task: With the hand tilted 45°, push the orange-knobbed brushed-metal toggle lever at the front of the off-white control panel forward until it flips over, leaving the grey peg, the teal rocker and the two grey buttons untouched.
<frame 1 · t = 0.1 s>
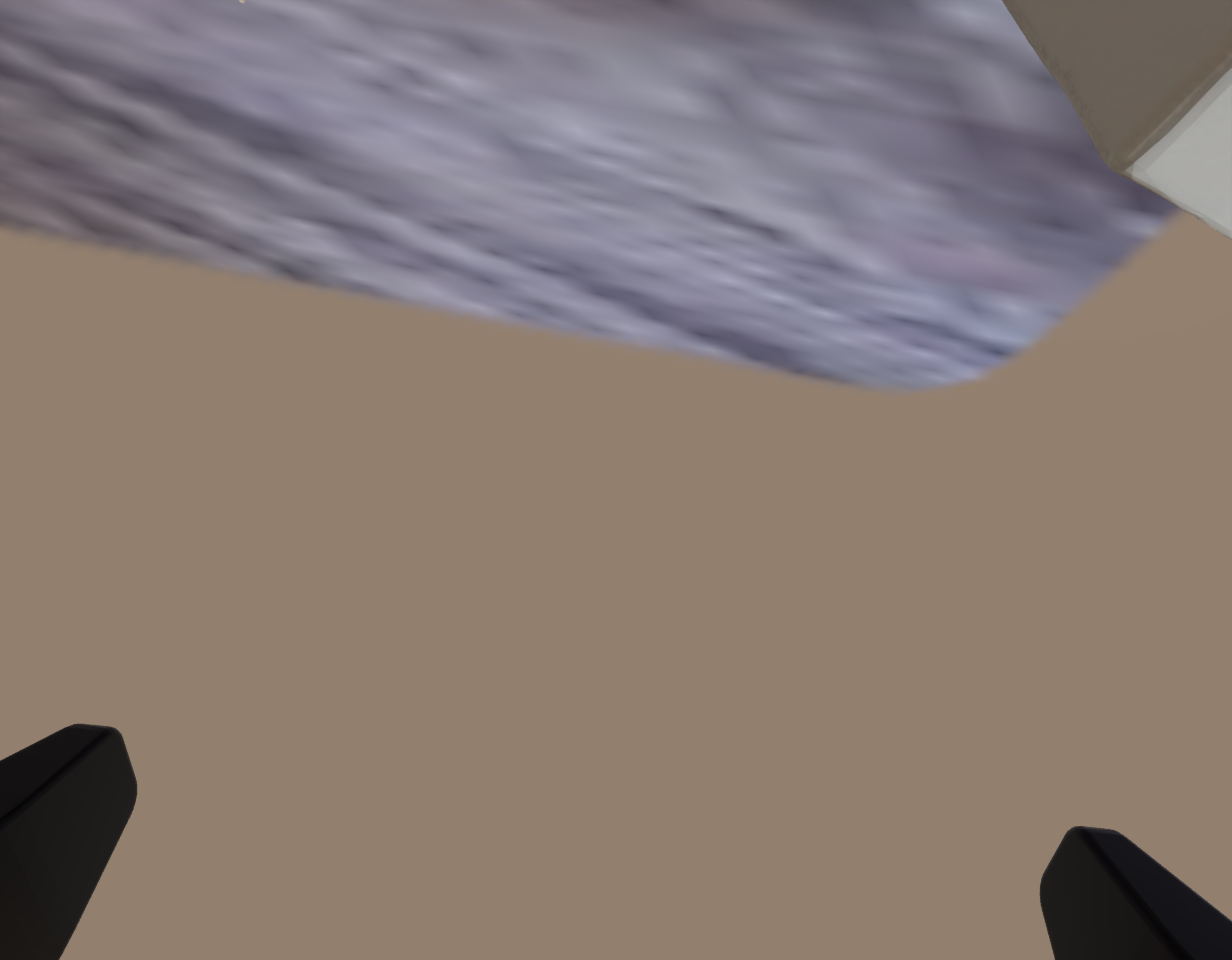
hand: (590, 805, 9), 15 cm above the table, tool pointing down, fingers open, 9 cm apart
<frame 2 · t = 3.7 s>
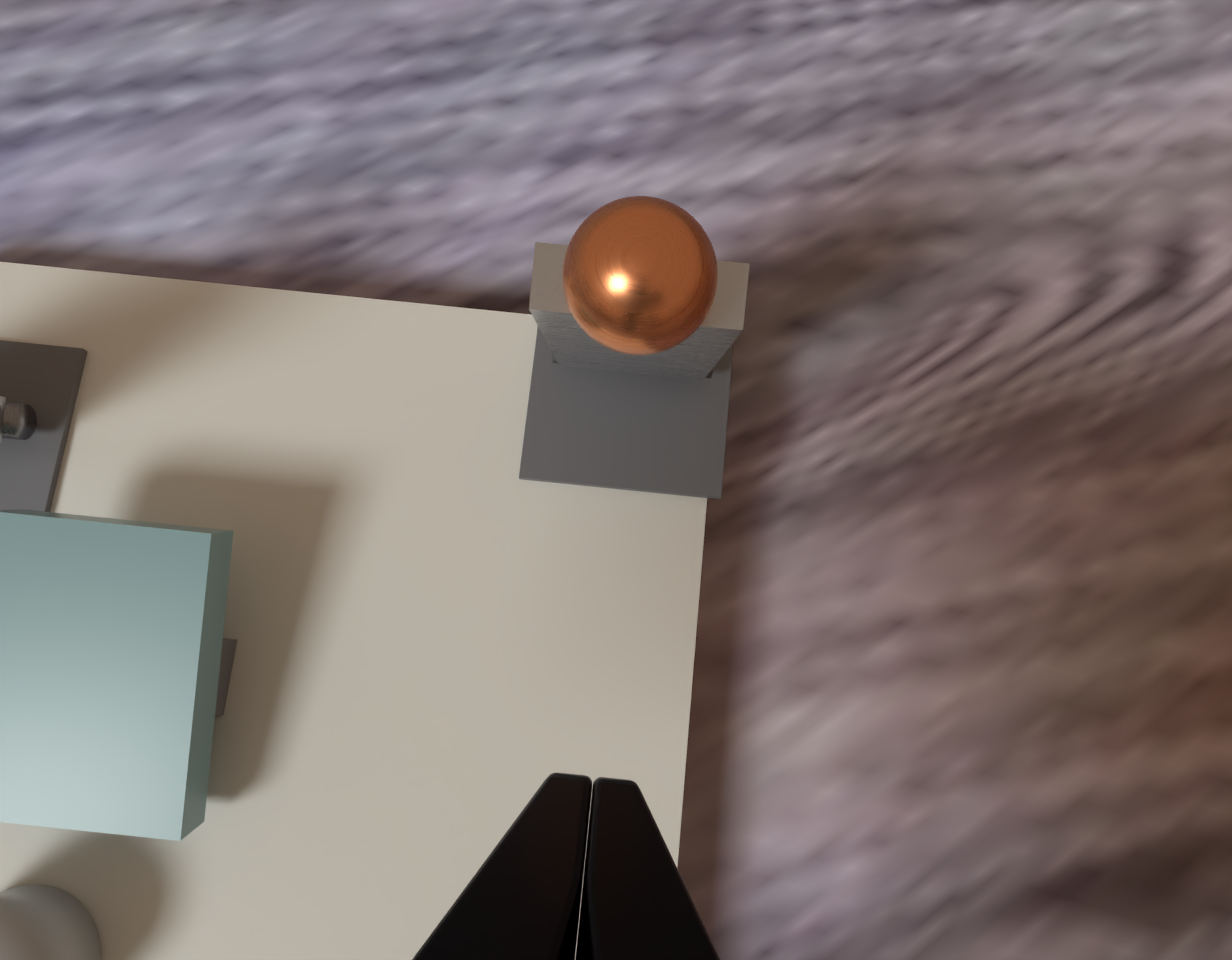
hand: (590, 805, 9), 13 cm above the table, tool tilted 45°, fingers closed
panel: (271, 634, 22), on the table
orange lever: (636, 320, 16), point 7 cm above the table, hinge at -12.0°
rocker: (98, 670, 18), point 4 cm above the table, hinge at -12.0°
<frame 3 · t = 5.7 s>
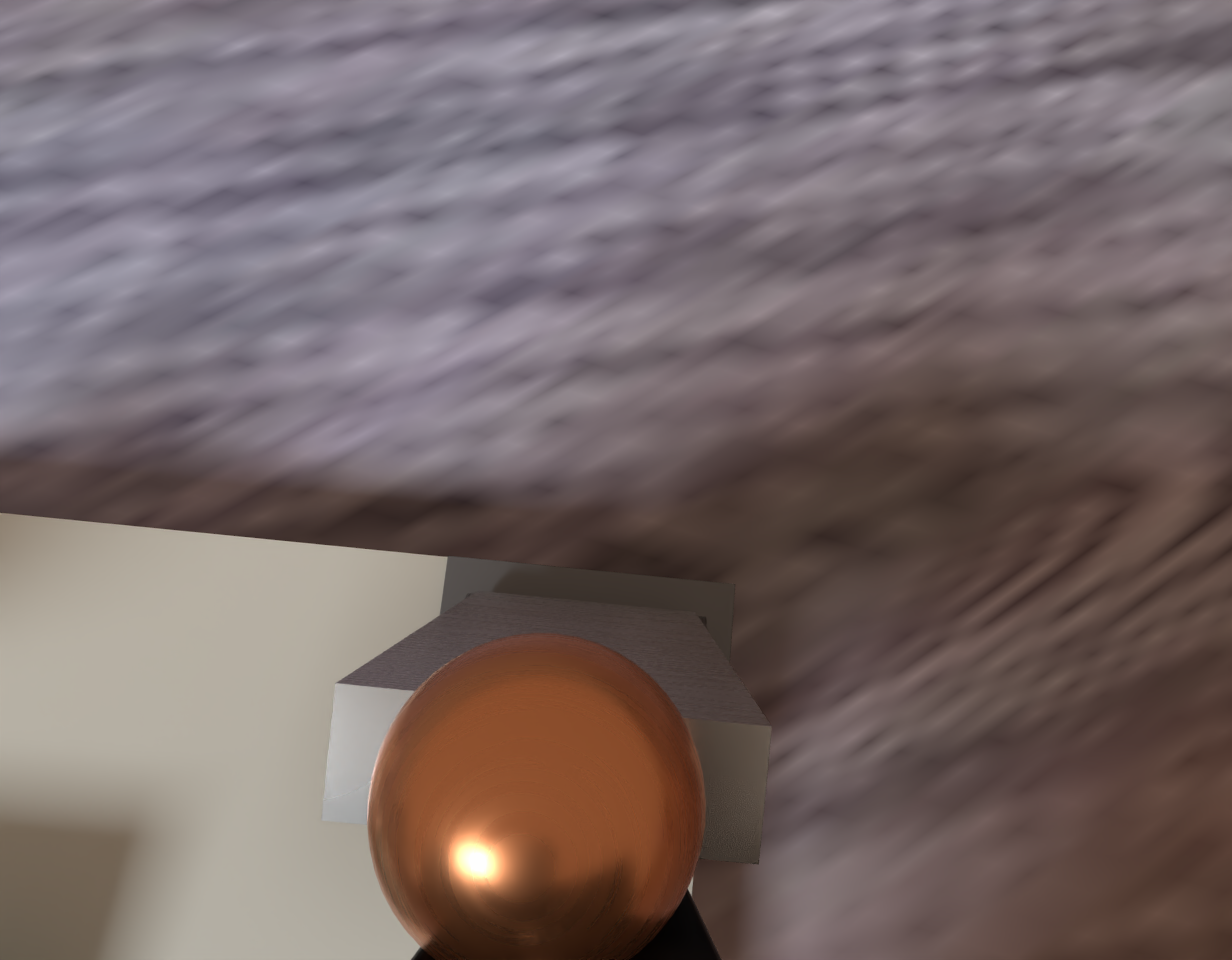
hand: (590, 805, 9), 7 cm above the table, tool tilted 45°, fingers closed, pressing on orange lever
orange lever: (568, 690, 9), point 7 cm above the table, hinge at -10.9°, touching gripper
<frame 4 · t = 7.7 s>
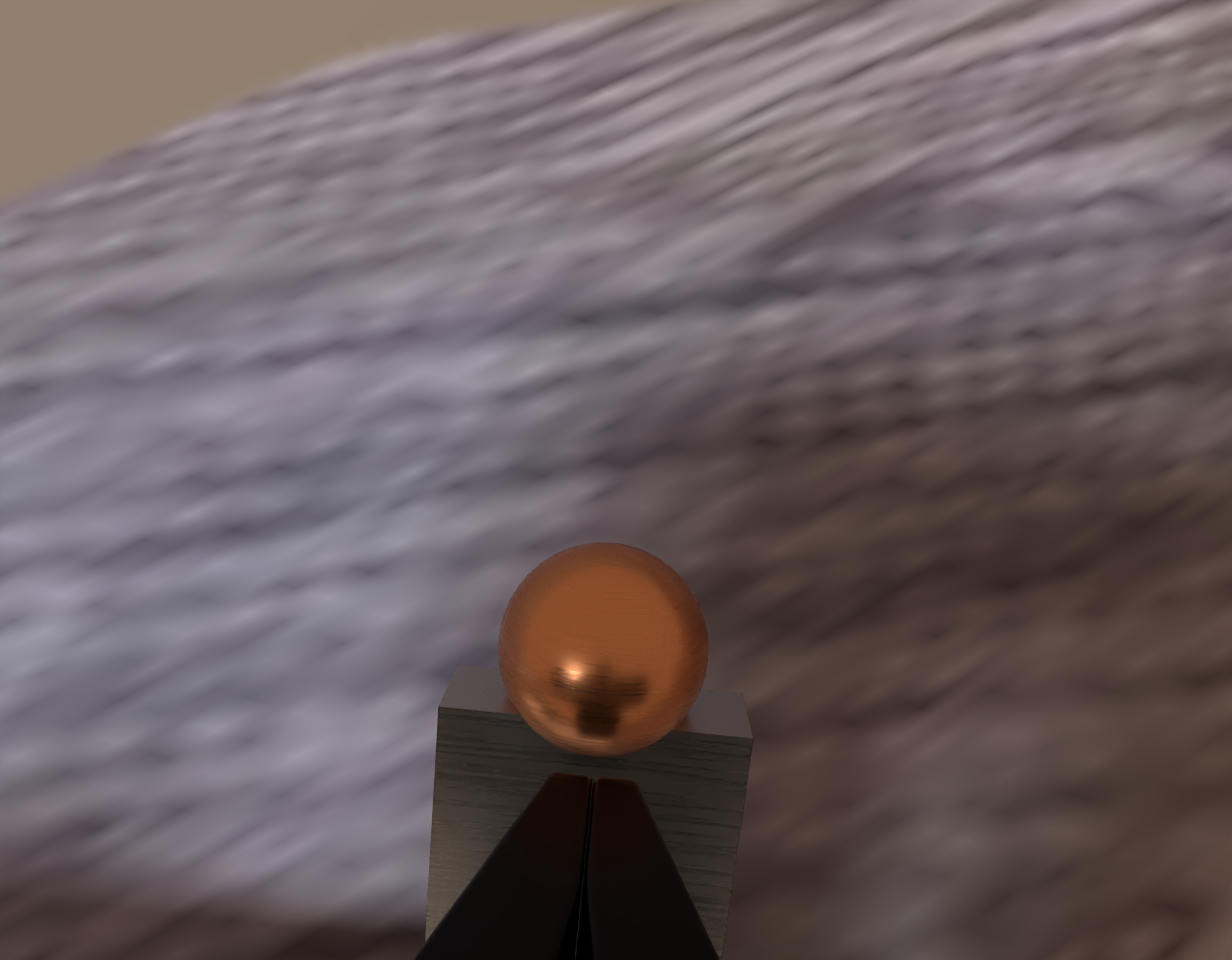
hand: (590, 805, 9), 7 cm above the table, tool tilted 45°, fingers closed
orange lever: (575, 929, 10), point 5 cm above the table, hinge at 65.1°
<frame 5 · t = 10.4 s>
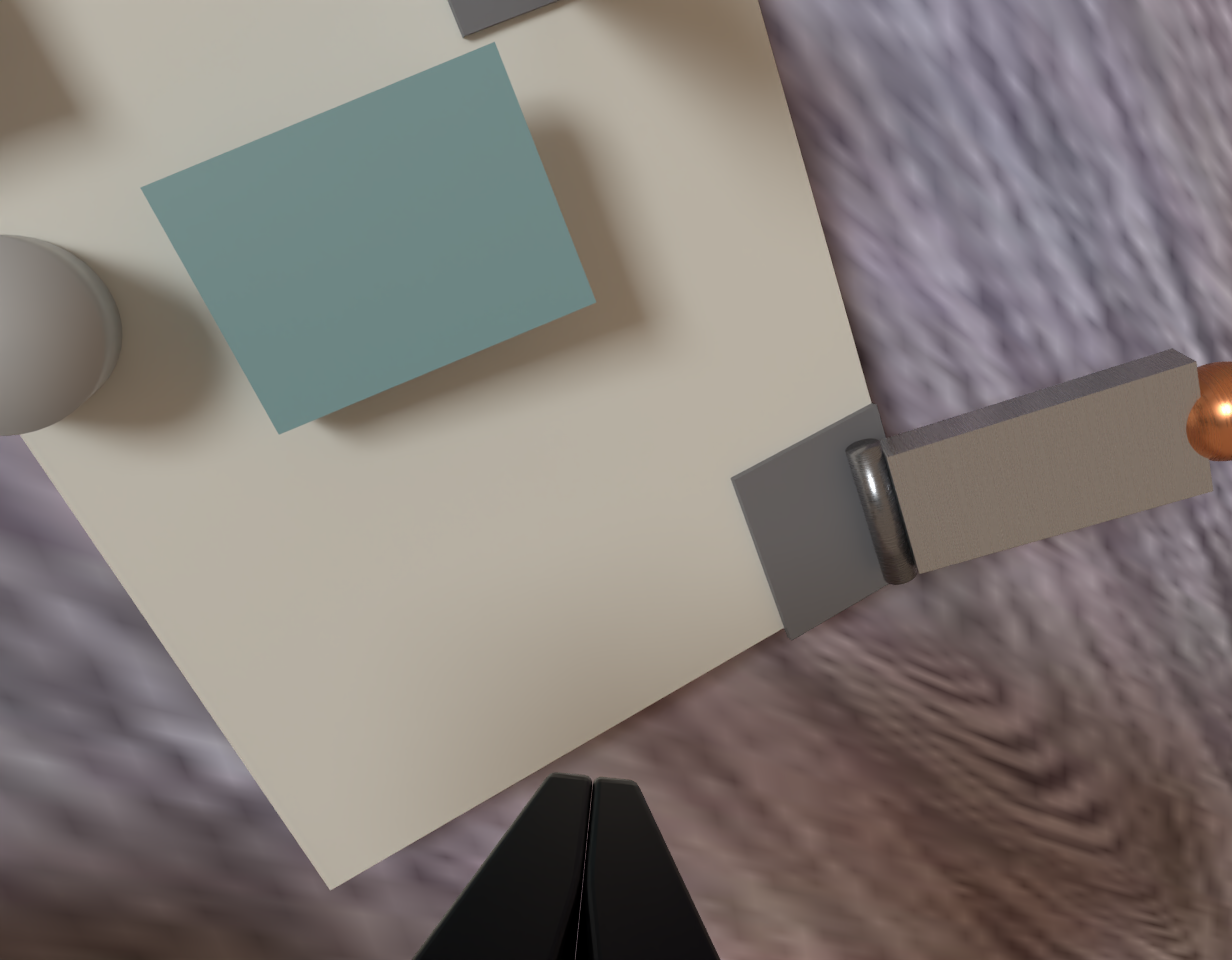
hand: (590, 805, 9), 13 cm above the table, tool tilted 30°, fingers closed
round button: (7, 332, 14), point 3 cm above the table, slide at 0.0 cm
panel: (452, 312, 20), on the table
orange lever: (1061, 459, 21), point 5 cm above the table, hinge at 65.1°
rocker: (383, 245, 15), point 4 cm above the table, hinge at -12.0°
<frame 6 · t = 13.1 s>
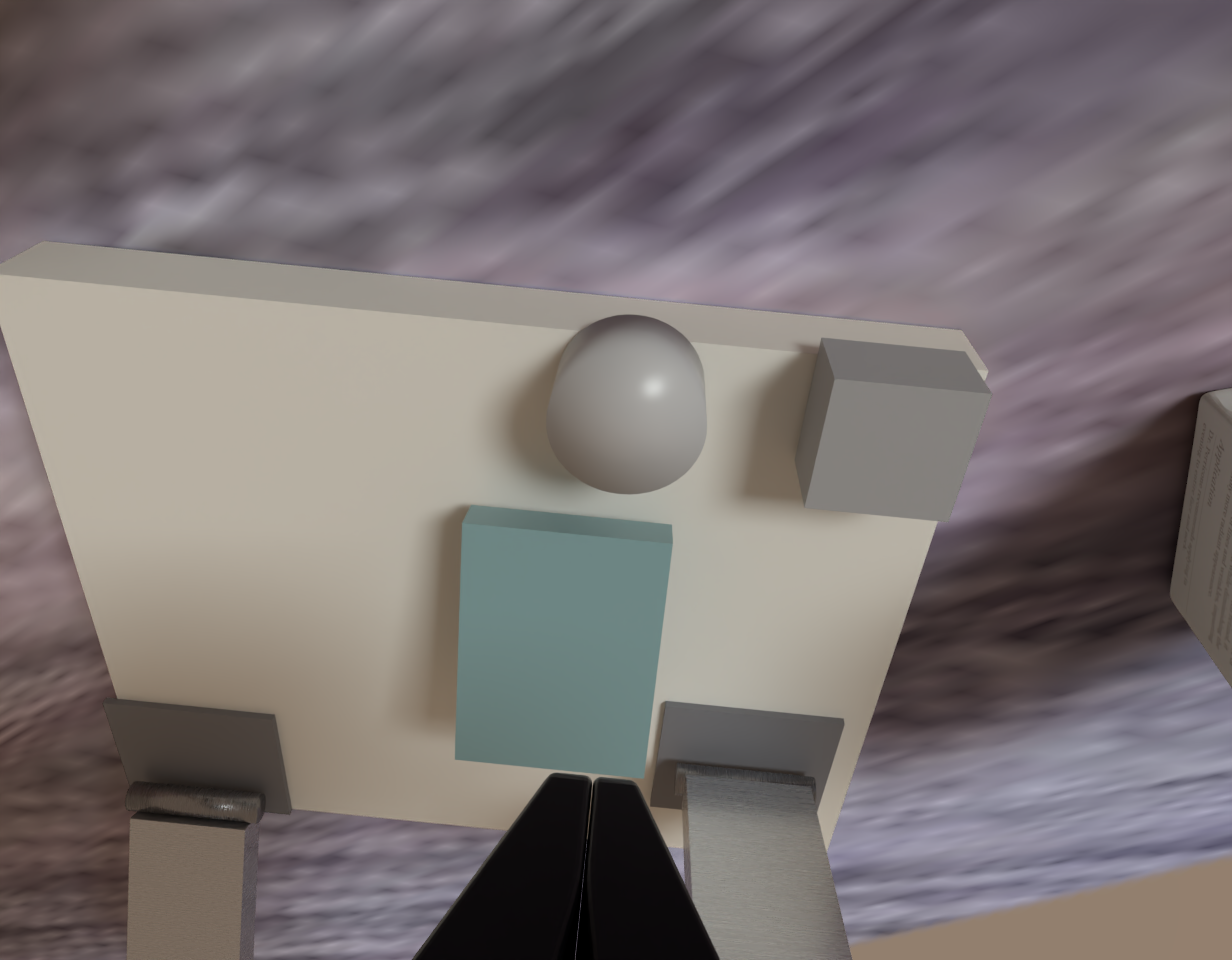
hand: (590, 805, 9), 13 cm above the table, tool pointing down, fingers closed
square button: (884, 429, 18), point 3 cm above the table, slide at 0.0 cm
round button: (628, 404, 18), point 3 cm above the table, slide at 0.0 cm
panel: (498, 573, 24), on the table
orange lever: (191, 937, 26), point 5 cm above the table, hinge at 65.1°
rocker: (560, 645, 20), point 4 cm above the table, hinge at -12.0°
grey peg: (761, 912, 20), point 7 cm above the table, hinge at -12.0°
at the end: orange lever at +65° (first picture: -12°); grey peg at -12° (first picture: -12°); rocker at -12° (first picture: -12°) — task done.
